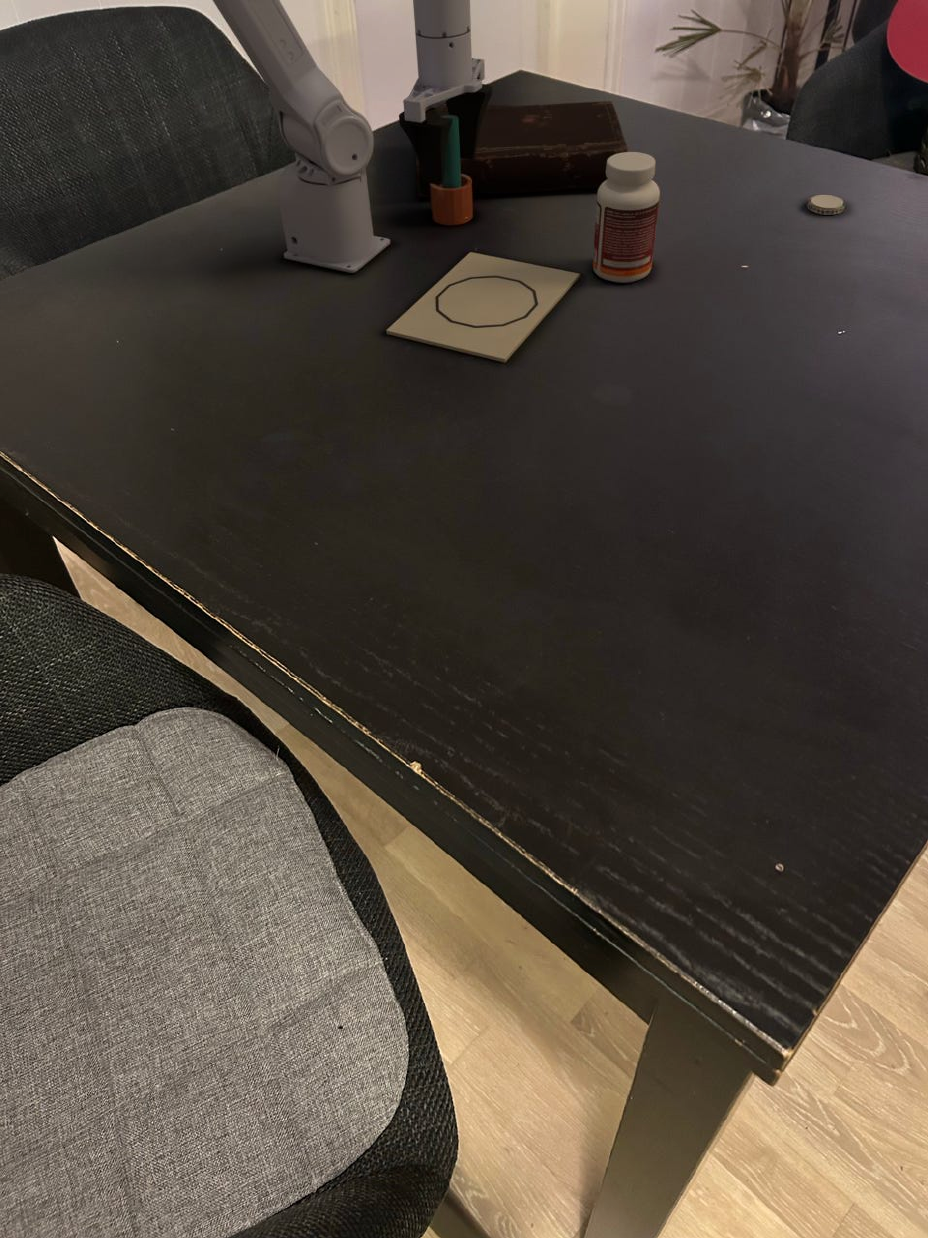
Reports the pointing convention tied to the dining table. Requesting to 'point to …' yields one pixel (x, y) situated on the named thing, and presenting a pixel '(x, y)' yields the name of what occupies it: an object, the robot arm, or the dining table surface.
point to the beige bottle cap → (826, 204)
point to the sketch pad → (484, 306)
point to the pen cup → (452, 203)
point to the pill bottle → (626, 218)
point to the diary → (541, 147)
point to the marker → (452, 156)
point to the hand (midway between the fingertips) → (450, 169)
